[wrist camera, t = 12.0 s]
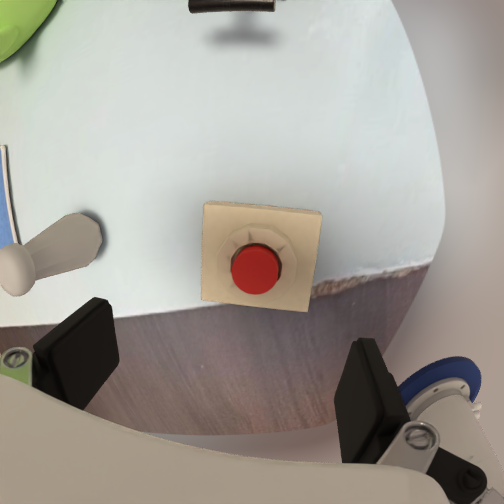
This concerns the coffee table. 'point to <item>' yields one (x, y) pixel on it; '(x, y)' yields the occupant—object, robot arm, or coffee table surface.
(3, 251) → the salt shaker
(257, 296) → the control box
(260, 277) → the stop button
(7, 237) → the tablet
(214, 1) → the lever
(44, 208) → the coffee table surface
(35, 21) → the teapot
